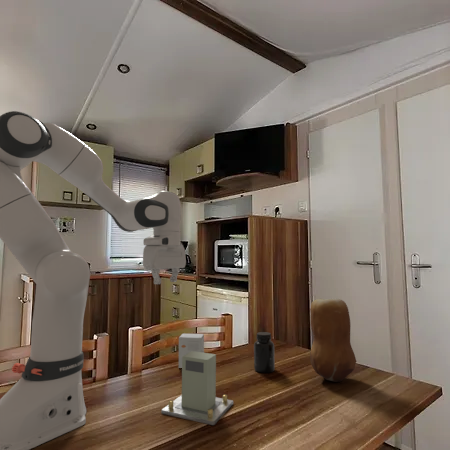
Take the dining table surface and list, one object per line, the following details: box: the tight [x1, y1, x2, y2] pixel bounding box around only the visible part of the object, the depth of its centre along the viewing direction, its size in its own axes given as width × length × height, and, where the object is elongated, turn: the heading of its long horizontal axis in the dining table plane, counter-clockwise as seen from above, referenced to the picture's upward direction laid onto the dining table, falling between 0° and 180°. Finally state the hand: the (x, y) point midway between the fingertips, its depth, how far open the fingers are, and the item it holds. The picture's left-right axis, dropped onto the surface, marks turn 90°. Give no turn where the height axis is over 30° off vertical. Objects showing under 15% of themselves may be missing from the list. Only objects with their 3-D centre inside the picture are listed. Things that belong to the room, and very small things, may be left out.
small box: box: [178, 333, 205, 369], centre depth 115 cm, size 8×6×10 cm
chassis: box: [160, 394, 234, 426], centre depth 83 cm, size 12×14×2 cm
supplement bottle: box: [253, 331, 276, 374], centre depth 112 cm, size 7×7×12 cm
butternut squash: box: [309, 298, 357, 383], centre depth 104 cm, size 14×13×25 cm
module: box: [181, 351, 217, 412], centre depth 84 cm, size 5×7×12 cm
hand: (165, 282), depth 109 cm, fingers open, 8 cm apart
